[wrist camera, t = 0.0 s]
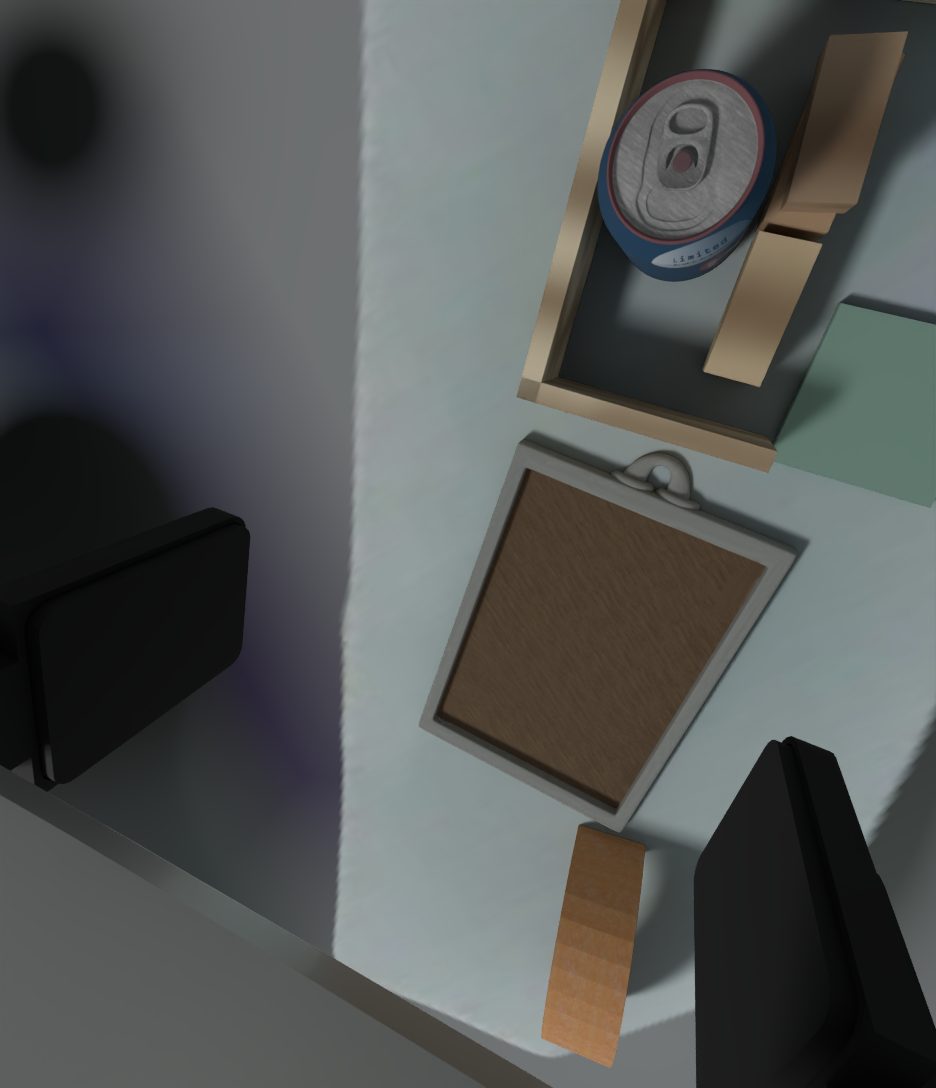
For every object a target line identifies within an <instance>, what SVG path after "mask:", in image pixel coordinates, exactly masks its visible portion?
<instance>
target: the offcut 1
mask: <svg viewBox="0 0 936 1088" xmlns="http://www.w3.org/2000/svg"><path fill="white" fill-rule="evenodd" d="M822 245H823V244H820V243H815V242H810V241H806V240H801V239H796V238H791V237H787V236H782V235H777V234H772V233H768V232H763V231H759V232H758V234H757V235H756V236H755V238H754V239H753V241H752V242H751V245H750V248H749V250H748V253H747V255H746V258H745V260H744V263H743V265H742V268H741V270H740V273H739V276H738V278H737V281H736V283H735V286H734V288H733V291H732V293H731V296H730V298H729V301H728V304H727V306H726V309H725V311H724V314H723V316H722V319H721V321H720V324H719V326H718V329H717V332H716V334H715V337H714V339H713V342H712V344H711V347H710V349H709V352H708V355H707V357H706V360H705V362H704V365H703V367H702V369H703V371H704V372H706V373H710V374H714V375H717V376H721V377H725V378H728V379H732V380H736V381H740V382H743V383H747V384H751V385H754V386H758V387H760V386H761V383H762V381H763V379H764V377H765V374H766V372H767V370H768V367H769V365H770V363H771V361H772V358H773V356H774V354H775V351H776V349H777V347H778V345H779V342H780V340H781V338H782V336H783V333H784V331H785V329H786V326H787V324H788V322H789V320H790V317H791V315H792V313H793V311H794V308H795V306H796V304H797V301H798V299H799V297H800V295H801V292H802V290H803V288H804V286H805V283H806V281H807V279H808V276H809V274H810V272H811V270H812V267H813V265H814V263H815V261H816V258H817V256H818V254H819V251H820V249H821V247H822Z"/></svg>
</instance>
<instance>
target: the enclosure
mask: <svg viewBox="0 0 936 1088" xmlns="http://www.w3.org/2000/svg"><path fill="white" fill-rule="evenodd" d="M903 1H912V2H921V3H929V4H936V0H903ZM666 2H667V0H621V2H620V6H619V10H618V14H617V18H616V21H615V25H614V29H613V33H612V37H611V40H610V44H609V48H608V52H607V56H606V59H605V63H604V67H603V71H602V75H601V78H600V82H599V86H598V90H597V94H596V97H595V101H594V105H593V109H592V113H591V116H590V120H589V124H588V128H587V132H586V135H585V139H584V143H583V147H582V151H581V154H580V158H579V162H578V166H577V170H576V173H575V177H574V181H573V185H572V189H571V192H570V196H569V200H568V204H567V208H566V211H565V215H564V219H563V223H562V227H561V230H560V234H559V238H558V242H557V245H556V249H555V253H554V257H553V261H552V264H551V268H550V272H549V276H548V280H547V283H546V287H545V291H544V295H543V299H542V302H541V306H540V310H539V314H538V318H537V321H536V325H535V329H534V333H533V337H532V340H531V344H530V348H529V352H528V356H527V359H526V363H525V367H524V371H523V375H522V378H521V382H520V386H519V390H518V394H517V397H518V398H521V399H525V400H528V401H531V402H535V403H538V404H541V405H545V406H548V407H551V408H554V409H558V410H561V411H564V412H568V413H571V414H574V415H578V416H581V417H584V418H588V419H591V420H594V421H598V422H601V423H604V424H608V425H611V426H614V427H618V428H621V429H624V430H628V431H631V432H634V433H638V434H641V435H644V436H648V437H651V438H654V439H658V440H661V441H664V442H668V443H671V444H674V445H678V446H681V447H684V448H688V449H691V450H694V451H698V452H701V453H704V454H708V455H711V456H714V457H717V458H721V459H724V460H727V461H731V462H734V463H737V464H741V465H744V466H747V467H751V468H754V469H757V470H761V471H764V472H767V473H768V472H769V470H770V468H771V466H772V464H773V462H774V459H775V457H776V455H777V453H778V451H777V450H776V448H775V447H774V446H773V444H772V443H771V442H770V440H769V439H768V438H767V437H766V436H762V435H759V434H755V433H752V432H749V431H745V430H742V429H738V428H735V427H731V426H728V425H724V424H721V423H717V422H714V421H710V420H707V419H703V418H700V417H696V416H693V415H689V414H686V413H682V412H679V411H675V410H672V409H668V408H665V407H661V406H658V405H654V404H651V403H647V402H644V401H640V400H637V399H634V398H630V397H627V396H623V395H620V394H616V393H613V392H609V391H606V390H602V389H599V388H595V387H592V386H588V385H585V384H581V383H578V382H574V381H571V380H567V379H564V378H560V377H558V375H559V372H560V368H561V365H562V361H563V358H564V355H565V351H566V348H567V344H568V341H569V337H570V334H571V330H572V327H573V323H574V320H575V317H576V313H577V310H578V306H579V303H580V299H581V296H582V292H583V289H584V285H585V282H586V279H587V275H588V272H589V268H590V265H591V261H592V258H593V254H594V251H595V247H596V244H597V240H598V237H599V234H600V230H601V227H602V223H603V220H604V219H603V217H602V213H601V210H600V205H599V199H598V173H599V167H600V162H601V158H602V154H603V151H604V148H605V146H606V143H607V141H608V138H609V136H610V134H611V132H612V130H613V129H614V127H615V125H616V124H617V122H618V121H619V119H620V118H621V116H622V115H623V114H624V112H625V111H626V110H627V109H628V107H629V106H630V105H631V104H632V103H633V102H634V101H635V100H636V99H637V98H638V97H639V95H640V92H641V88H642V85H643V82H644V78H645V75H646V71H647V68H648V64H649V61H650V57H651V54H652V50H653V47H654V44H655V40H656V37H657V33H658V30H659V26H660V23H661V19H662V16H663V12H664V9H665V6H666Z"/></svg>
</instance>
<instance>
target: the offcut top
mask: <svg viewBox="0 0 936 1088" xmlns="http://www.w3.org/2000/svg"><path fill="white" fill-rule="evenodd" d="M907 34H908V31H905V32H884V33H864V34H843V35H830V36H829V38H828V40H827V42H826V44H825V46H824V49H823V51H822V53H821V55H820V57H819V59H818V62H817V66H816V70H815V74H814V78H813V82H812V86H811V90H810V94H809V98H808V102H807V106H806V110H805V114H804V118H803V122H802V126H801V129H800V133H799V137H798V141H797V145H796V149H795V153H794V157H793V161H792V165H791V169H790V173H789V177H788V181H787V185H786V189H785V193H784V197H783V200H782V204H781V208H780V212H809V213H840V214H844V213H845V212H847V211H848V210H849V209H851V208H852V207H853V206H855V205H856V204H857V202H858V199H859V196H860V192H861V189H862V185H863V182H864V179H865V175H866V172H867V169H868V165H869V162H870V159H871V155H872V152H873V148H874V145H875V142H876V138H877V135H878V132H879V128H880V125H881V121H882V118H883V115H884V111H885V108H886V105H887V101H888V98H889V95H890V91H891V88H892V84H893V81H894V78H895V74H896V71H897V68H898V64H899V61H900V57H901V54H902V51H903V47H904V44H905V41H906V37H907Z"/></svg>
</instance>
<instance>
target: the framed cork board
mask: <svg viewBox="0 0 936 1088" xmlns="http://www.w3.org/2000/svg"><path fill="white" fill-rule="evenodd" d="M656 466H663V467H666V468H667V469H669V470H670V473H671V478H670V482H669V484H668V487H667V489H663V488H660V489H657V490H656V491H655V492H654V487H653V485H652V484H650V483H649V482H647V481H646V480H647V478H648V476H649V474H650V472H651V471H652V469H653V468H654V467H656ZM689 498H690V480H689V476H688V473H687V471H686V469H685V467H684V466H683V464H682V463H681V462H680V461H679V460H677V459H676V458H674V457H673V456H671V455H667V454H663V453H654V454H649V455H646V456H643V457H641V458H639V459H637V460H636V461H634V462H633V463H632V464H631V465H630V466H629V467H628V468H627V469H626V470H625V471H624V472H622V471H613V472H612V473H611V474H609V473H607V472H604V471H602V470H599V469H597V468H594V467H592V466H589V465H587V464H584V463H582V462H579V461H577V460H574V459H572V458H569V457H567V456H564V455H562V454H559V453H557V452H554V451H552V450H549V449H547V448H545V447H542V446H540V445H537V444H535V443H532V442H529V441H527V440H522V441H520V442H519V444H518V446H517V449H516V451H515V454H514V457H513V460H512V463H511V465H510V468H509V471H508V474H507V477H506V479H505V482H504V485H503V488H502V491H501V494H500V496H499V499H498V502H497V505H496V508H495V510H494V513H493V516H492V519H491V522H490V525H489V527H488V530H487V533H486V536H485V539H484V541H483V544H482V547H481V550H480V553H479V556H478V558H477V561H476V564H475V567H474V570H473V572H472V575H471V578H470V581H469V584H468V587H467V589H466V592H465V595H464V598H463V601H462V603H461V606H460V609H459V612H458V615H457V618H456V620H455V623H454V626H453V629H452V632H451V634H450V637H449V640H448V643H447V646H446V649H445V651H444V654H443V657H442V660H441V663H440V665H439V668H438V671H437V674H436V677H435V680H434V682H433V685H432V688H431V691H430V694H429V696H428V699H427V702H426V705H425V708H424V711H423V713H422V716H421V719H420V722H419V727H420V728H422V729H423V730H425V731H427V732H429V733H431V734H433V735H435V736H436V737H438V738H440V739H442V740H444V741H446V742H448V743H450V744H452V745H453V746H455V747H457V748H459V749H461V750H463V751H465V752H467V753H469V754H470V755H472V756H474V757H476V758H478V759H480V760H482V761H484V762H486V763H487V764H489V765H491V766H493V767H495V768H497V769H499V770H501V771H502V772H504V773H506V774H508V775H510V776H512V777H514V778H516V779H518V780H519V781H521V782H523V783H525V784H527V785H529V786H531V787H533V788H535V789H536V790H538V791H540V792H542V793H544V794H546V795H548V796H550V797H552V798H553V799H555V800H557V801H559V802H561V803H563V804H565V805H567V806H569V807H570V808H572V809H574V810H576V811H578V812H580V813H582V814H584V815H585V816H587V817H589V818H591V819H593V820H595V821H597V822H599V823H601V824H602V825H604V826H606V827H608V828H610V829H612V830H614V831H616V832H619V833H620V832H621V831H622V830H623V829H624V827H625V826H626V824H627V822H628V821H629V819H630V818H631V816H632V815H633V813H634V811H635V810H636V808H637V807H638V805H639V804H640V802H641V800H642V799H643V797H644V796H645V794H646V793H647V791H648V790H649V788H650V786H651V785H652V783H653V782H654V780H655V779H656V777H657V775H658V774H659V772H660V771H661V769H662V768H663V766H664V764H665V763H666V761H667V760H668V758H669V757H670V755H671V753H672V752H673V750H674V749H675V747H676V746H677V744H678V742H679V741H680V739H681V738H682V736H683V735H684V733H685V731H686V730H687V728H688V727H689V725H690V724H691V722H692V721H693V719H694V717H695V716H696V714H697V713H698V711H699V710H700V708H701V706H702V705H703V703H704V702H705V700H706V699H707V697H708V695H709V694H710V692H711V691H712V689H713V688H714V686H715V684H716V683H717V681H718V680H719V678H720V677H721V675H722V673H723V672H724V670H725V669H726V667H727V666H728V664H729V662H730V661H731V659H732V658H733V656H734V655H735V653H736V651H737V650H738V648H739V647H740V645H741V644H742V642H743V641H744V639H745V637H746V636H747V634H748V633H749V631H750V630H751V628H752V626H753V625H754V623H755V622H756V620H757V619H758V617H759V615H760V614H761V612H762V611H763V609H764V608H765V606H766V604H767V603H768V601H769V600H770V598H771V597H772V595H773V593H774V592H775V590H776V589H777V587H778V586H779V584H780V582H781V581H782V579H783V578H784V576H785V575H786V573H787V572H788V570H789V568H790V567H791V565H792V564H793V562H794V560H795V558H796V556H797V553H796V550H795V549H794V548H792V547H790V546H788V545H786V544H783V543H781V542H778V541H776V540H773V539H771V538H768V537H766V536H763V535H761V534H758V533H756V532H753V531H751V530H748V529H746V528H743V527H741V526H738V525H736V524H734V523H731V522H729V521H726V520H724V519H721V518H719V517H716V516H714V515H711V514H709V513H706V512H704V511H701V510H699V508H700V506H699V504H698V503H697V502H696V501H694V500H692V499H689Z"/></svg>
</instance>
